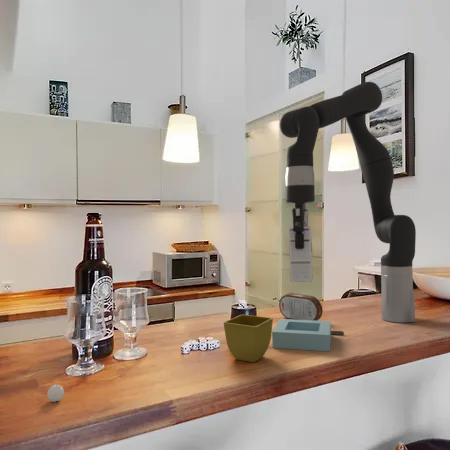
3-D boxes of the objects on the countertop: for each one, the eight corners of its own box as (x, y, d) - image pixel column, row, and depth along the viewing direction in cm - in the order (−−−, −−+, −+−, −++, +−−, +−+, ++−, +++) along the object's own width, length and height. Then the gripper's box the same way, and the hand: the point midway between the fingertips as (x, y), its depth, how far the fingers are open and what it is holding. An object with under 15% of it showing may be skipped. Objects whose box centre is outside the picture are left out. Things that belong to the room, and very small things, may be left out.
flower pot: (257, 367, 87) (256, 326, 87) (223, 360, 92) (222, 321, 92) (274, 355, 95) (273, 317, 95) (242, 350, 99) (241, 314, 99)
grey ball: (45, 400, 73) (45, 384, 73) (62, 396, 74) (62, 380, 74) (49, 406, 70) (49, 389, 70) (66, 401, 72) (66, 385, 72)
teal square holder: (331, 335, 110) (330, 321, 110) (329, 351, 97) (329, 335, 97) (280, 332, 114) (280, 318, 114) (272, 347, 101) (272, 331, 101)
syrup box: (312, 282, 102) (311, 225, 102) (289, 281, 104) (288, 225, 103) (312, 279, 108) (311, 225, 108) (290, 278, 109) (289, 225, 109)
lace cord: (344, 334, 111) (344, 330, 111) (344, 335, 110) (344, 331, 110) (276, 330, 117) (276, 327, 117) (275, 331, 116) (275, 328, 116)
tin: (323, 323, 124) (322, 296, 124) (318, 325, 122) (317, 297, 122) (283, 316, 135) (282, 291, 135) (277, 318, 132) (277, 292, 132)
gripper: (312, 181, 98) (313, 250, 98) (316, 186, 112) (317, 246, 112) (281, 182, 100) (282, 249, 100) (289, 187, 114) (290, 246, 114)
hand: (300, 247), depth 106 cm, fingers closed on syrup box, 6 cm apart
